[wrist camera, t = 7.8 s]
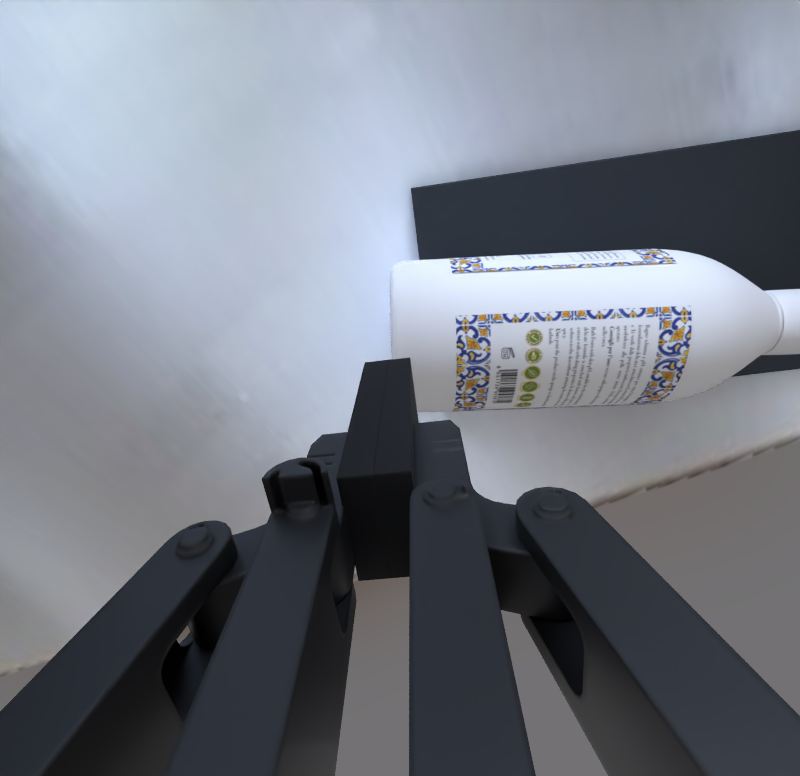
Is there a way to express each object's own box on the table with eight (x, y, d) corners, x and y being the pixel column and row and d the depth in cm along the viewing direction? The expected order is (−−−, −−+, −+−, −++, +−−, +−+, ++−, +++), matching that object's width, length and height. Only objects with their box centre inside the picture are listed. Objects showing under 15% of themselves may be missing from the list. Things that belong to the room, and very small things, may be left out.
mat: (436, 407, 27) (437, 411, 27) (410, 188, 23) (411, 188, 22) (866, 357, 26) (875, 360, 25) (936, 109, 21) (948, 107, 21)
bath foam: (398, 434, 23) (808, 419, 23) (389, 371, 17) (956, 349, 16) (396, 317, 26) (759, 301, 26) (387, 227, 20) (869, 203, 19)
